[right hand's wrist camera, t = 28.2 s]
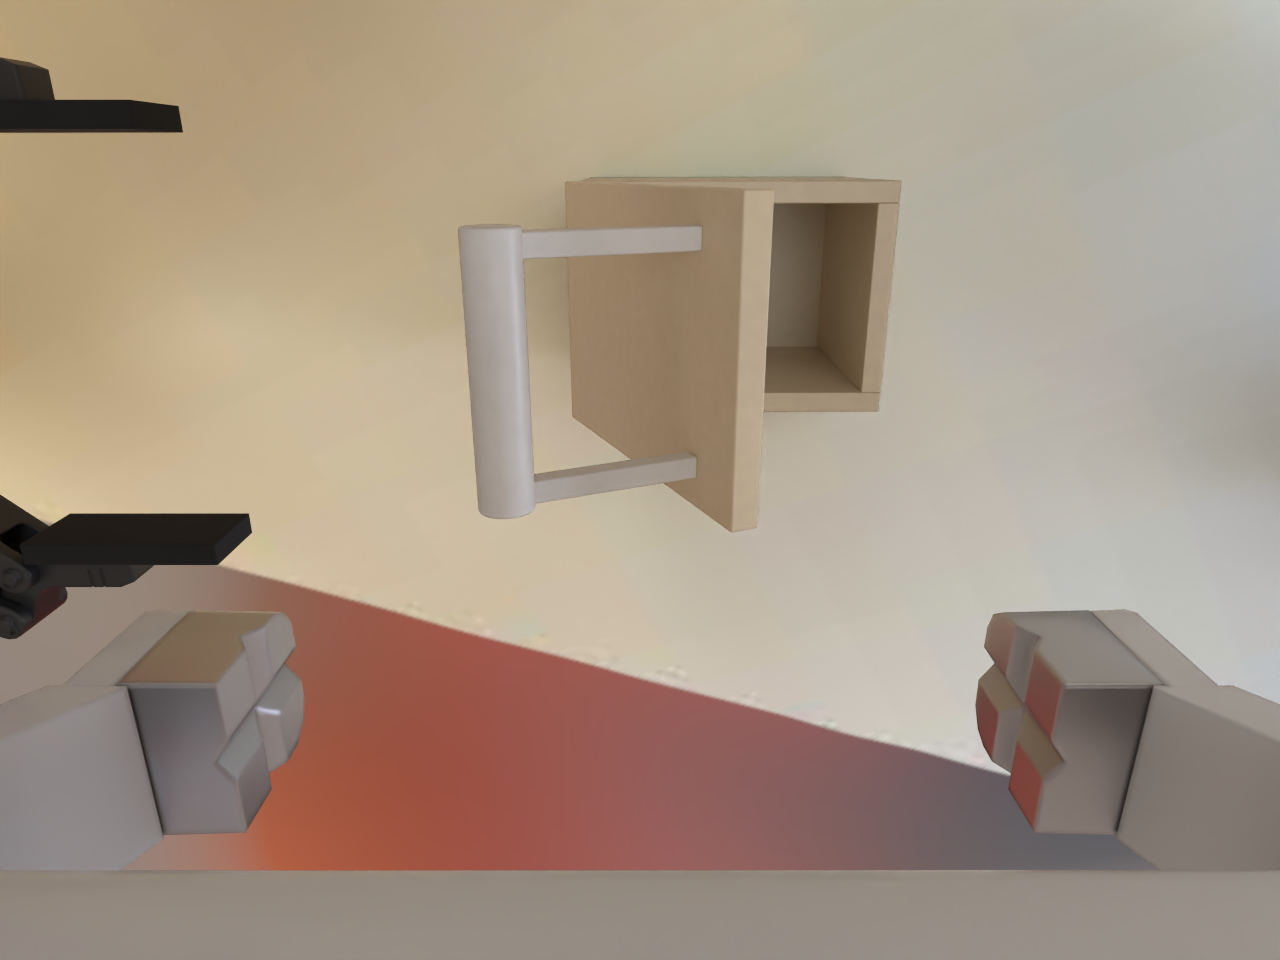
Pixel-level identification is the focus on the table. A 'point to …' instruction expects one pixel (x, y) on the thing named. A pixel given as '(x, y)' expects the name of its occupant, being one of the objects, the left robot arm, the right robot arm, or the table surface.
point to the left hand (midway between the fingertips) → (200, 345)
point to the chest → (822, 287)
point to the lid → (630, 345)
